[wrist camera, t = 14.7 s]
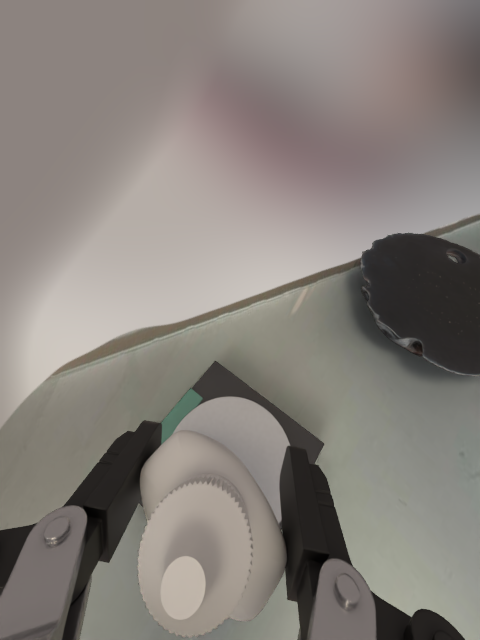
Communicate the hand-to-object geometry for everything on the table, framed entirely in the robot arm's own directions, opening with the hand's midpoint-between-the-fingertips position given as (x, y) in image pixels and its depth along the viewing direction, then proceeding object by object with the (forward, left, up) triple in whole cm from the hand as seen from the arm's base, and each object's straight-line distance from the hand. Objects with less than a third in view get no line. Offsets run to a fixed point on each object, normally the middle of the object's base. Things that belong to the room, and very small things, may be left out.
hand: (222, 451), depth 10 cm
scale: (0, -1, -17) cm, 17 cm away
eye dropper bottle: (+1, -2, -6) cm, 6 cm away
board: (+11, +30, -17) cm, 36 cm away
